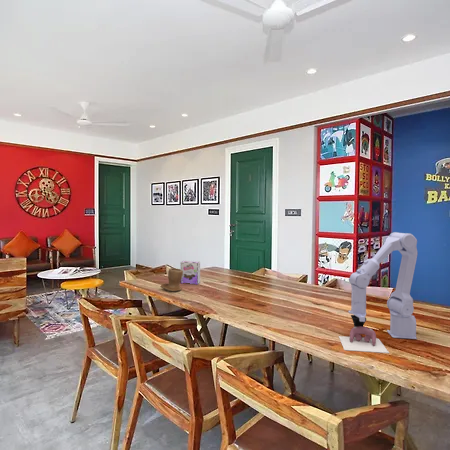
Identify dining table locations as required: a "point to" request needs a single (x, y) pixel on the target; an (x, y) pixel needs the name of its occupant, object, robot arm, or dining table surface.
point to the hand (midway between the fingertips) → (358, 333)
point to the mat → (362, 345)
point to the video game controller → (363, 330)
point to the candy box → (190, 272)
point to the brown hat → (173, 280)
